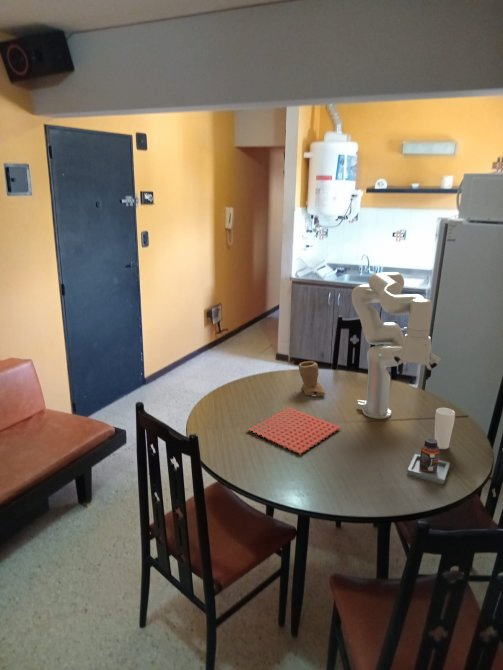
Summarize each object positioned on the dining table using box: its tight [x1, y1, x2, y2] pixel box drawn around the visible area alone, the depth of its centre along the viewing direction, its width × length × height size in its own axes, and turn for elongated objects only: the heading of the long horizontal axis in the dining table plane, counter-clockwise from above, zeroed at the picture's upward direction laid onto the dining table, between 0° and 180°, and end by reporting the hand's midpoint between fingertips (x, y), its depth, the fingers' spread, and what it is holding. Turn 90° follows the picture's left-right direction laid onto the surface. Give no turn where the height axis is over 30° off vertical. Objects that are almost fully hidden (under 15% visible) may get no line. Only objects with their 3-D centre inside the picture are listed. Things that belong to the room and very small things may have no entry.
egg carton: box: [247, 407, 341, 456], centre depth 192 cm, size 28×28×2 cm
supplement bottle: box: [419, 437, 441, 473], centre depth 162 cm, size 6×6×11 cm
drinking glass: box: [434, 407, 456, 450], centre depth 177 cm, size 7×7×15 cm
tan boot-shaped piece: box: [298, 360, 326, 397], centre depth 228 cm, size 15×12×15 cm
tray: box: [406, 453, 451, 486], centre depth 163 cm, size 12×12×2 cm
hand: (413, 376), depth 174 cm, fingers open, 9 cm apart
